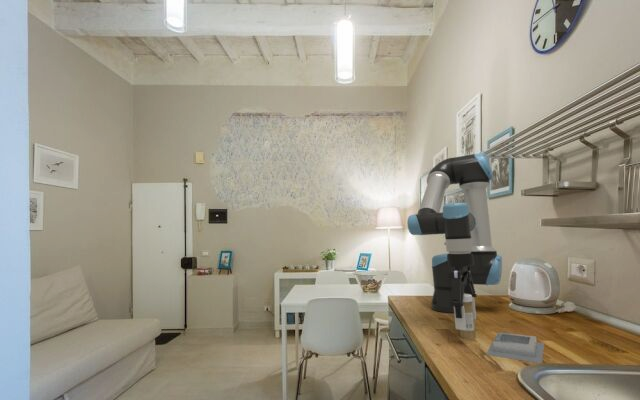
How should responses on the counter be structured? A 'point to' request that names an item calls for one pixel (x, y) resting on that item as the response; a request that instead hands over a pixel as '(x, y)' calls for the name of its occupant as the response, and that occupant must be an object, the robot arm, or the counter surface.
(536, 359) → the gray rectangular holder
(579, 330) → the counter surface
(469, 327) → the sprinkles bottle
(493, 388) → the counter surface
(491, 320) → the counter surface
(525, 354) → the metal collar
